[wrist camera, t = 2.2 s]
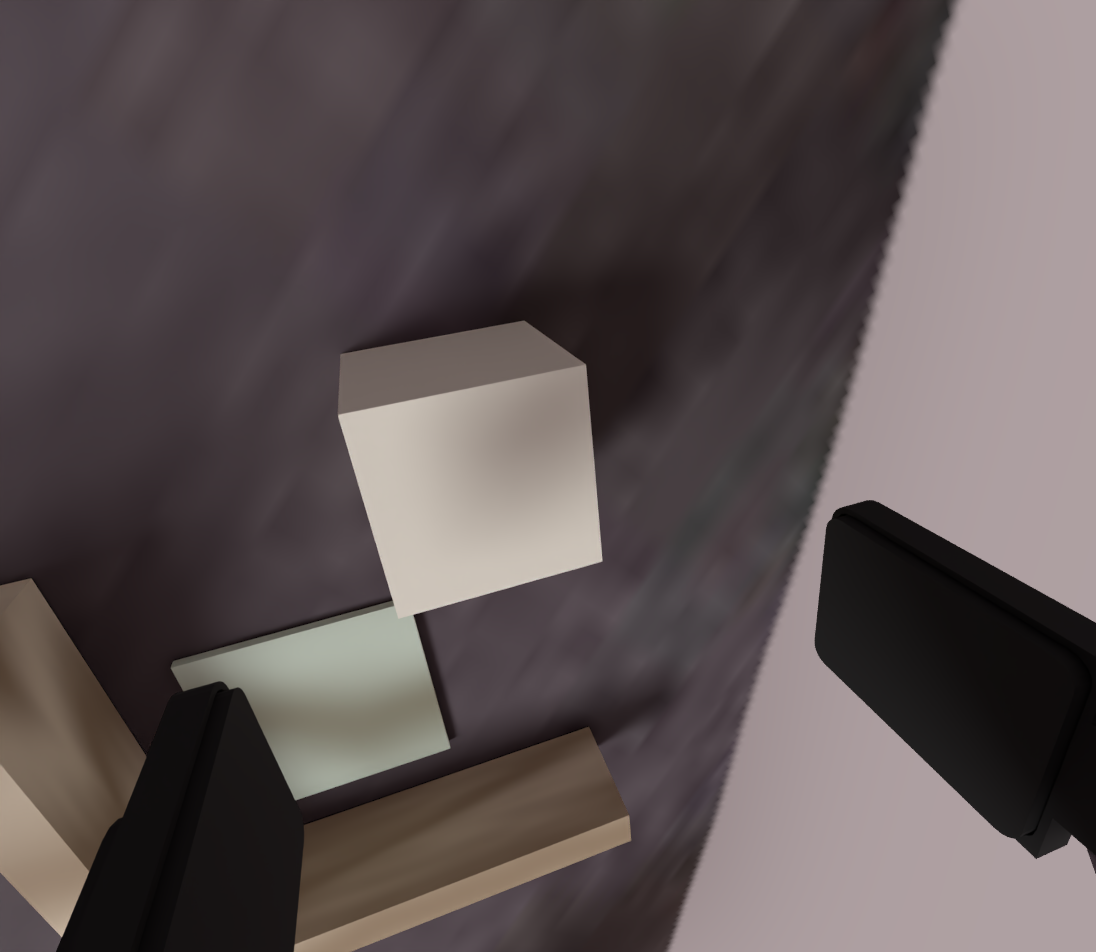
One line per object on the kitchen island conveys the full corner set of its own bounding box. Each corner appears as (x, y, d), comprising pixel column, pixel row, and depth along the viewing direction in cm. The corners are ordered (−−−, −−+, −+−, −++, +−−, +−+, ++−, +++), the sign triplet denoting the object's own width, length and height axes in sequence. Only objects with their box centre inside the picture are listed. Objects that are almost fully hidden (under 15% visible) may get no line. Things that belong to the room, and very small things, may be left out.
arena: (-36, 594, 15) (-151, 713, 11) (557, 454, 18) (606, 513, 15) (182, 896, 21) (151, 1031, 18) (591, 750, 25) (631, 840, 21)
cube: (340, 353, 15) (337, 414, 11) (523, 320, 16) (585, 364, 12) (386, 516, 18) (398, 620, 13) (543, 478, 19) (602, 563, 14)
